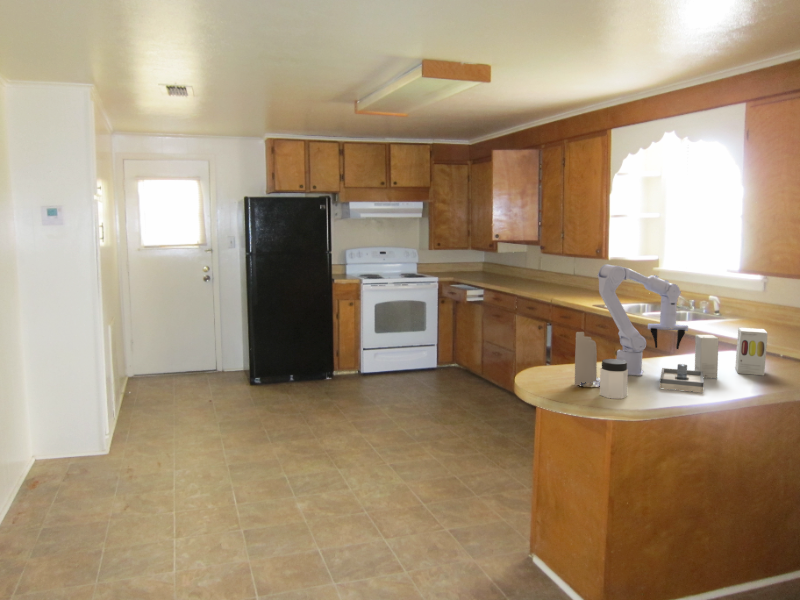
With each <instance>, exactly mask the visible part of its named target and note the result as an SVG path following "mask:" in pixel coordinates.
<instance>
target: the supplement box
mask: <svg viewBox="0 0 800 600" xmlns="http://www.w3.org/2000/svg"><path fill="white" fill-rule="evenodd" d="M768 335H769V333H768V332H767V330H765V329H764V328H752V327H750V328H749V327H738V329H737V340H736V341H737V342H736V344H737V345H736V354H735V366H734V368H735V370H736V373H737V374H741V375H742V374H743V375H753V376H754V375H755V376H765V370H766V357H767V348H768V347H767V346H768Z"/></svg>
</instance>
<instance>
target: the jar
mask: <svg viewBox="0 0 800 600" xmlns="http://www.w3.org/2000/svg"><path fill="white" fill-rule="evenodd" d="M599 375H600V376H599V382H600V387H599V396H601V397H603V398H606V399H610V398H611V400H612V399H613V400H622V399H624V398H626V397H627V396H628V379H629V375H628V369H627V362H626V361H624V360H619V359H617V358H605V359H602V361H601V368H600V374H599Z"/></svg>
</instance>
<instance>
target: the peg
mask: <svg viewBox="0 0 800 600" xmlns="http://www.w3.org/2000/svg"><path fill="white" fill-rule="evenodd" d="M676 369H677V380H687V370H688V365H687V364H685V363H684V364H683V363H682V364H681V363H678V364H677V368H676Z"/></svg>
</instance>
